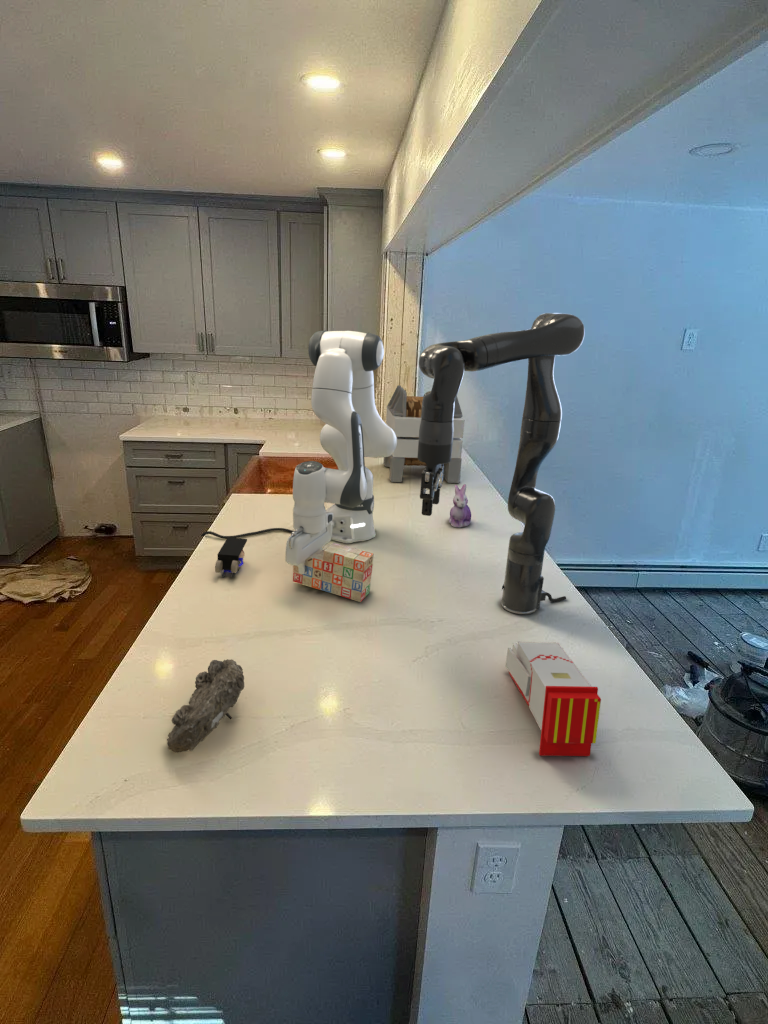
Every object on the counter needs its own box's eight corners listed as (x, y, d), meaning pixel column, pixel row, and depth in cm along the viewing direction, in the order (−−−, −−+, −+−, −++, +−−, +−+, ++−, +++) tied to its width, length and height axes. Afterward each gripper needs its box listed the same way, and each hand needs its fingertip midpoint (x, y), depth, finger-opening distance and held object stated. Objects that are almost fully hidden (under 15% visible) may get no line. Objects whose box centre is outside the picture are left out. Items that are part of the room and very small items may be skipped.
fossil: (192, 660, 117) (244, 628, 112) (224, 691, 120) (276, 661, 115) (142, 746, 98) (202, 712, 93) (182, 779, 101) (242, 748, 96)
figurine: (457, 529, 205) (460, 490, 200) (441, 520, 214) (444, 482, 209) (478, 526, 210) (482, 487, 205) (462, 517, 218) (465, 480, 213)
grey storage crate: (382, 463, 289) (386, 382, 275) (445, 464, 293) (451, 384, 279) (390, 482, 257) (394, 392, 243) (460, 483, 261) (468, 394, 247)
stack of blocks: (291, 582, 159) (293, 542, 155) (303, 573, 165) (304, 534, 160) (361, 602, 152) (364, 561, 148) (370, 592, 158) (374, 552, 154)
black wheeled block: (238, 584, 162) (249, 557, 175) (236, 562, 158) (247, 536, 172) (215, 584, 161) (227, 556, 175) (212, 561, 158) (225, 535, 171)
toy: (554, 624, 127) (610, 694, 97) (548, 679, 130) (602, 763, 100) (500, 623, 126) (541, 693, 97) (496, 678, 129) (534, 763, 100)
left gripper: (300, 536, 144) (300, 585, 149) (336, 512, 162) (335, 556, 167) (278, 532, 147) (280, 580, 151) (316, 508, 165) (316, 552, 169)
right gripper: (446, 448, 117) (440, 521, 123) (457, 435, 130) (451, 502, 136) (411, 444, 119) (407, 517, 125) (425, 432, 132) (421, 498, 138)
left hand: (309, 567), depth 159 cm, fingers closed on stack of blocks, 6 cm apart
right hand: (430, 509), depth 130 cm, fingers open, 8 cm apart
